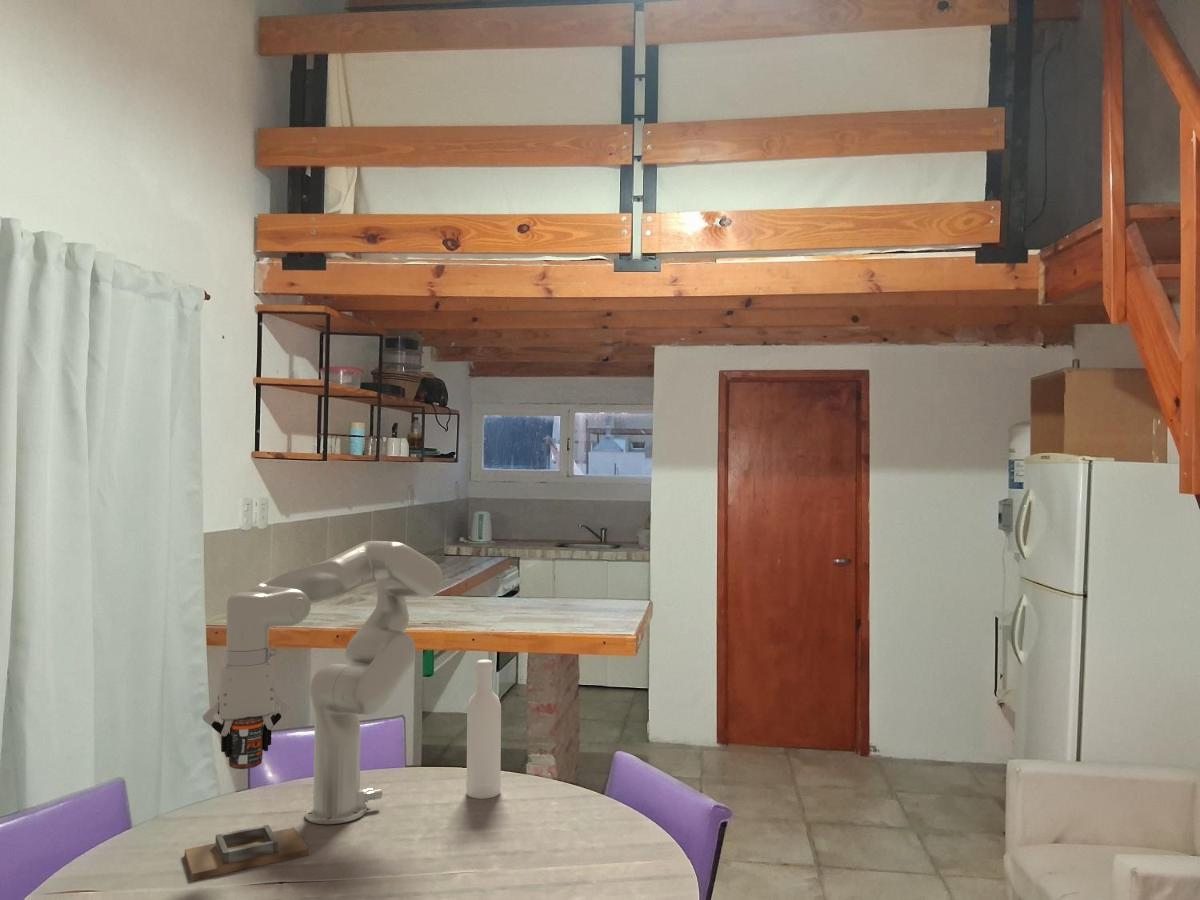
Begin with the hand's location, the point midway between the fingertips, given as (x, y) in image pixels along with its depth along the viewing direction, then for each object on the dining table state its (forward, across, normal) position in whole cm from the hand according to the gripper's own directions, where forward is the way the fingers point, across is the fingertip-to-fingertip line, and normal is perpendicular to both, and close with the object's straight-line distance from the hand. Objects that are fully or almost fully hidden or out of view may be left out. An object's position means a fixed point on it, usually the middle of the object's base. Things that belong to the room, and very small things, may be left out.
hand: (246, 751), depth 162 cm
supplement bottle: (+3, 0, 0) cm, 3 cm away
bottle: (+20, -52, -8) cm, 56 cm away
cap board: (+19, 0, +1) cm, 19 cm away
